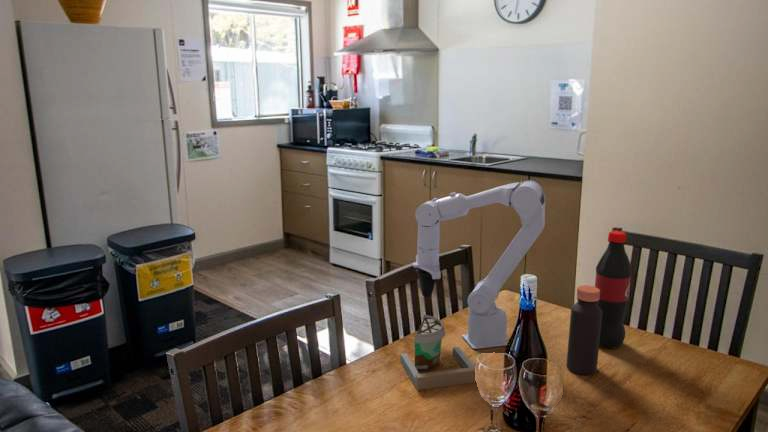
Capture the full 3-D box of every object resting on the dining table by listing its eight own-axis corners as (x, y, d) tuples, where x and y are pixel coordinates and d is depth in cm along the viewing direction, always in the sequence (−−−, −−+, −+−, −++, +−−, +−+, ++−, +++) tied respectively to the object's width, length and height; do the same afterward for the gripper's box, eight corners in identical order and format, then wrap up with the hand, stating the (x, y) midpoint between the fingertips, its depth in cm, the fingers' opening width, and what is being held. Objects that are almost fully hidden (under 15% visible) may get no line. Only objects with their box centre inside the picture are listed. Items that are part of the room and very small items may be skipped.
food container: (439, 378, 127) (441, 337, 124) (413, 374, 128) (414, 334, 126) (447, 353, 138) (448, 316, 136) (423, 350, 140) (423, 313, 138)
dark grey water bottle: (579, 378, 127) (587, 296, 122) (560, 364, 133) (566, 285, 128) (603, 372, 129) (611, 292, 125) (582, 359, 135) (590, 282, 131)
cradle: (458, 354, 138) (458, 342, 137) (480, 381, 125) (481, 369, 125) (400, 361, 134) (400, 349, 134) (417, 390, 122) (417, 377, 121)
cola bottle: (628, 342, 144) (641, 231, 137) (617, 354, 138) (629, 238, 131) (596, 333, 150) (606, 225, 143) (583, 344, 143) (594, 232, 137)
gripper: (405, 240, 151) (404, 287, 154) (422, 256, 137) (421, 307, 140) (430, 238, 152) (428, 285, 156) (449, 254, 139) (447, 305, 142)
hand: (426, 295), depth 148 cm, fingers closed
